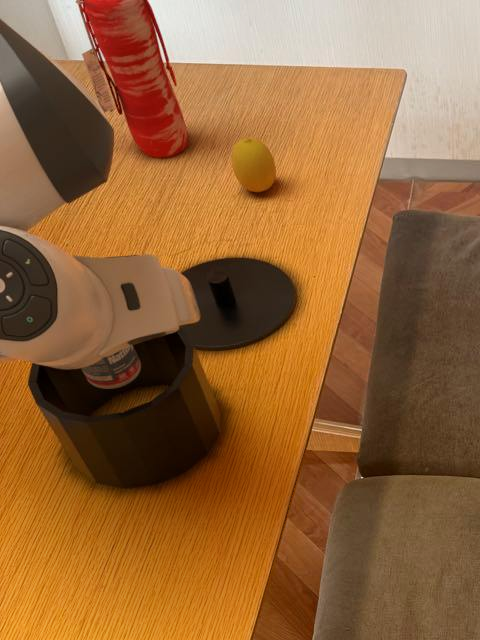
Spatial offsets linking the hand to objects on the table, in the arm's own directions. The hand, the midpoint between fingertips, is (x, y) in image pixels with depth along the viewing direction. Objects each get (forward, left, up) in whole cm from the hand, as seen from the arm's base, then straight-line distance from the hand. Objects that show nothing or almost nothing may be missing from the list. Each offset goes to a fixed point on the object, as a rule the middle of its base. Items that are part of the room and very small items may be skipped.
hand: (96, 330), depth 86 cm
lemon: (+12, +43, -14) cm, 47 cm away
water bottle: (-3, +56, -14) cm, 58 cm away
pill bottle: (0, -1, -5) cm, 5 cm away
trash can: (0, -1, -14) cm, 14 cm away
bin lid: (+8, +19, -14) cm, 25 cm away
